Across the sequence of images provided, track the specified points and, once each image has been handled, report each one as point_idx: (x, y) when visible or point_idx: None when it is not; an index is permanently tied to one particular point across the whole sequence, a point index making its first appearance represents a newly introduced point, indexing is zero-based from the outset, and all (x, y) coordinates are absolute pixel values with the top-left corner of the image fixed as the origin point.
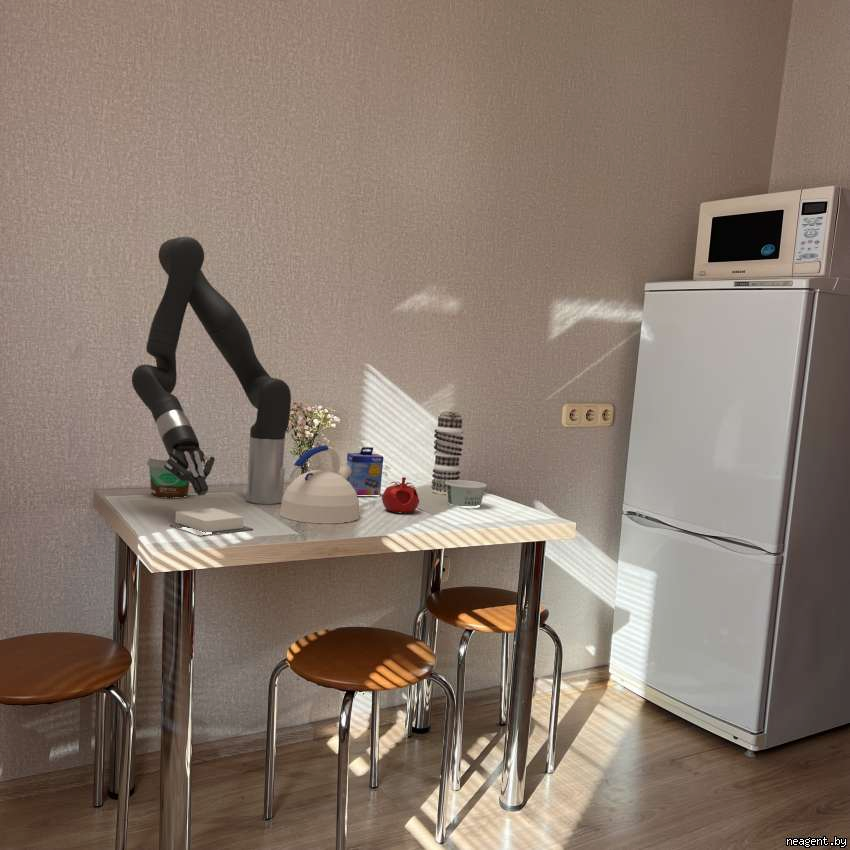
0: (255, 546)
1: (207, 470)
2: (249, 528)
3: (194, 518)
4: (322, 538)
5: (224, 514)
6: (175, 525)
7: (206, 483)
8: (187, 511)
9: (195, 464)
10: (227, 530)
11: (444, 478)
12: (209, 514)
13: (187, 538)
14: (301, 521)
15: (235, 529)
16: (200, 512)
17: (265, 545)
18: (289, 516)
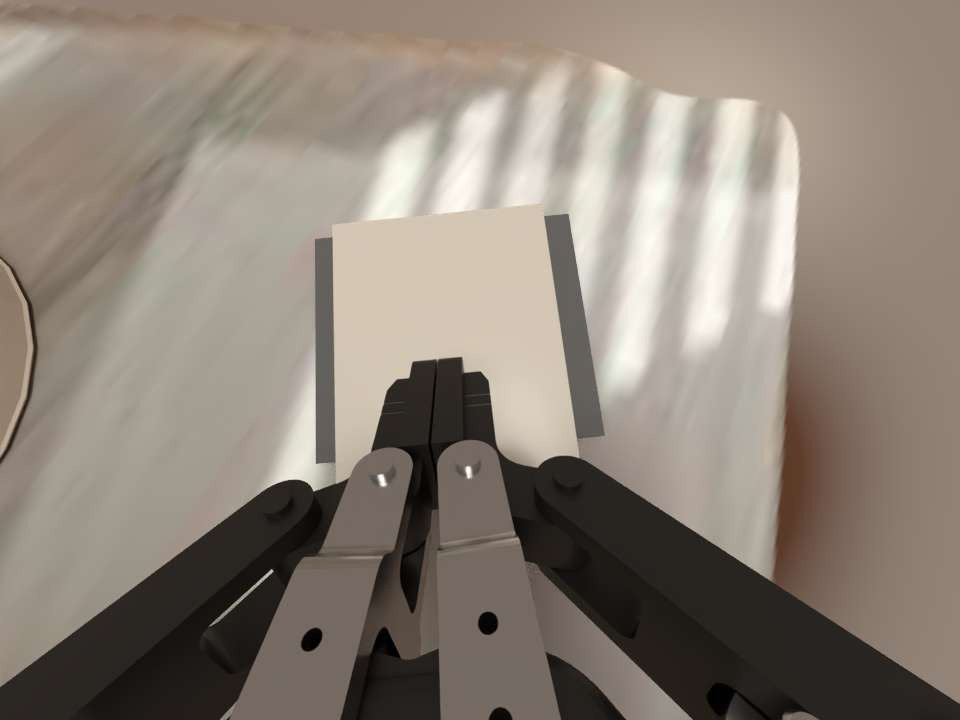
0: (456, 42)
1: (261, 527)
2: (324, 249)
3: (554, 291)
4: (182, 56)
5: (380, 307)
6: (586, 414)
7: (381, 415)
8: (520, 443)
9: (373, 665)
10: None
11: None
12: (450, 331)
13: (621, 211)
14: (27, 306)
15: None
16: None
17: (418, 42)
18: (15, 371)
